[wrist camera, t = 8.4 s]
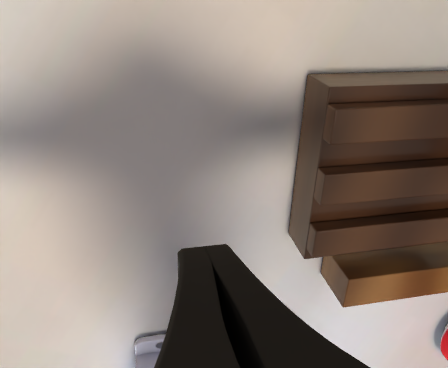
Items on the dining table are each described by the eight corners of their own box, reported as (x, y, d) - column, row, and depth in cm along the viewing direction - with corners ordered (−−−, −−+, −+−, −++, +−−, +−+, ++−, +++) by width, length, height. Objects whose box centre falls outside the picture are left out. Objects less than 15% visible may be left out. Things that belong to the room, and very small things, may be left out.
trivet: (287, 233, 23) (310, 269, 21) (306, 73, 19) (338, 92, 16) (426, 218, 25) (464, 249, 22) (472, 69, 21) (525, 85, 18)
